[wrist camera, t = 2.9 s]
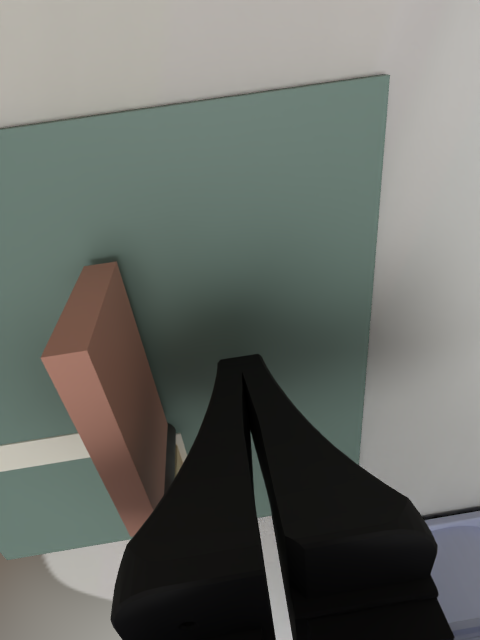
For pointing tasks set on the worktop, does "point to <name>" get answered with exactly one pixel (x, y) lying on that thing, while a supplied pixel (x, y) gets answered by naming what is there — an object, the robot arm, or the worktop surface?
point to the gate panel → (110, 391)
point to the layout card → (187, 274)
